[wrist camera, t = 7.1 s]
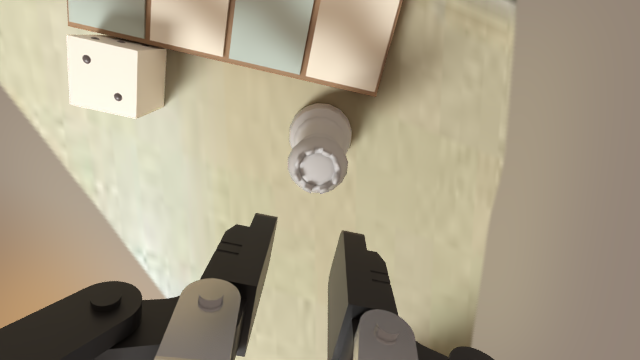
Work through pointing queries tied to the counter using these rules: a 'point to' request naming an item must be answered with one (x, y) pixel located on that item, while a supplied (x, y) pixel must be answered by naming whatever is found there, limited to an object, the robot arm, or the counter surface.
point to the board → (260, 33)
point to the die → (115, 75)
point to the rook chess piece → (319, 147)
